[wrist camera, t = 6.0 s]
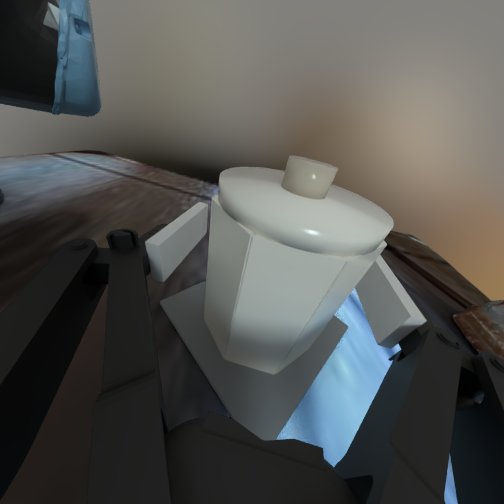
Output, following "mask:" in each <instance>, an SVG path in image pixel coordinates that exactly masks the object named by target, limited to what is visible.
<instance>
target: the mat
mask: <svg viewBox="0 0 504 504" xmlns="http://www.w3.org/2000/svg"><path fill="white" fill-rule="evenodd" d="M205 294H206V280H205V281H203V282H201V283H199V284H196V285H194V286H192V287H190V288H188V289H185V290H183V291H181V292H179V293H177V294H174V295H172V296H170V297H168V298H165V299H163V300H161V301H160V305H161V306H162V308H163V310H164V311H165V313H166V314H167V316H168V318H169V319H170V321H171V322H172V324H173V326H174V327H175V329H176V330H177V332H178V333H179V335H180V337H181V338H182V340H183V341H184V343H185V345H186V346H187V348H188V349H189V351H190V353H191V354H192V356H193V357H194V359H195V360H196V362H197V364H198V365H199V367H200V368H201V370H202V372H203V373H204V375H205V376H206V378H207V380H208V381H209V383H210V384H211V386H212V388H213V389H214V391H215V392H216V394H217V395H218V397H219V399H220V400H221V402H222V403H223V405H224V407H225V408H226V410H227V411H228V413H229V415H230V416H231V418H232V419H234V420H236V421H237V422H239V423H240V424H241V425H243V426H244V427H245V428H247V429H248V430H249V431H251V432H252V433H254V434H255V435H256V436H258V437H259V438H260V439H262V440H266V441H267V440H276V438H277V437H278V435H279V433H280V432H281V430H282V429H283V427H284V426H285V424H286V423H287V421H288V420H289V418H290V417H291V415H292V413H293V412H294V410H295V409H296V407H297V406H298V404H299V403H300V401H301V400H302V398H303V396H304V395H305V393H306V392H307V390H308V389H309V387H310V386H311V384H312V383H313V381H314V379H315V378H316V376H317V375H318V373H319V372H320V370H321V369H322V367H323V366H324V364H325V363H326V361H327V359H328V358H329V356H330V355H331V353H332V352H333V350H334V349H335V347H336V346H337V344H338V342H339V341H340V339H341V338H342V336H343V335H344V333H345V332H346V330H347V329H348V326H347V325H346V324H344V323H343V322H342V321H341V320H339V319H338V318H337V317H335V316H333V317H332V319H331V320H330V321H329V323H328V324H327V325H326V327H325V328H324V329H323V331H322V332H321V333H320V335H319V336H318V337H317V339H316V340H315V341H314V343H313V344H312V345H311V347H310V348H309V349H308V350H307V351H306V352H304V353H303V354H302V355H300V356H299V357H298V358H296V359H295V360H294V361H292V362H291V363H290V364H288V365H287V366H286V367H285V368H283V369H282V370H281V371H279V372H278V373H277V374H274V375H273V374H270V373H267V372H263V371H260V370H257V369H253V368H250V367H247V366H244V365H240V364H237V363H234V362H230V361H227V360H225V358H224V359H223V357H222V355H221V353H220V351H219V349H218V346H217V344H216V342H215V340H214V338H213V336H212V334H211V332H210V330H209V328H208V326H207V324H206V322H205V320H204V309H205Z"/></svg>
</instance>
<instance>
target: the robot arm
mask: <svg viewBox="0 0 504 504" xmlns="http://www.w3.org/2000/svg"><path fill="white" fill-rule="evenodd" d="M0 104H5V105H11V106H16V107H21V108H28V109H33V110H38V111H44V112H49V113H52V114H54V115H55V114H56V115H59V114H60V113H62V114H71V115H78V116H86V117H89V116H94V115H95V114H97V113H98V112H99V111H100V109H101V93H100V84H99V76H98V66H97V57H96V49H95V42H94V33H93V25H92V17H91V9H90V3H89V0H0ZM3 200H4V194H3V192H2V191H1V189H0V203H2V201H3ZM207 214H208V204H205V203H201V202H199V203H197V204H196V205H194V206H193V207H192V208H190V209H189V210H188V211H186V212H185V213H184V214H182V215H181V216H179V217H178V218H177V219H175V220H174V221H173V222H171V223H170V224H169V225H168V224H161V225H158V226H156V227H155V228H153V229H152V230H150V231H149V232H148V233H146V234H144V235H143V236H141V237H140V238H139V239H138V235H137V233H136V231H134V230H131V229H118V230H114V231H111V232H110V233H108V234H107V236H106V238H107V241H108V244H109V247H110V248H98V247H97V245H96V243H95V241H93V240H91V239H76V240H72V241H70V242H67V243H66V244H64V245H63V246H62V247H61V248H60V249H59V250H58V251H57V252H56V253H55V255H54V256H53V257H52V258H51V259H50V260H49V261H48V262H47V263H46V264H45V266H44V267H43V268H42V269H41V270H40V271H39V272H38V273H37V274H36V275H35V276H34V278H33V279H32V280H31V281H30V282H29V283H28V284H27V285H26V286H25V287H24V288H23V290H22V291H21V292H20V293H19V294H18V295H17V296H16V297H15V298H14V299H13V300H12V302H11V303H10V304H9V305H8V306H7V307H6V308H5V309H4V310H3V311H2V312H1V314H0V500H1V498H2V497H3V495H4V494H5V492H6V490H7V489H8V487H9V485H10V484H11V482H12V480H13V479H14V477H15V475H16V474H17V472H18V470H19V469H20V467H21V465H22V463H23V461H24V459H25V457H26V456H27V454H28V452H29V450H30V448H31V446H32V444H33V442H34V440H35V438H36V435H37V433H38V431H39V429H40V427H41V425H42V423H43V420H44V418H45V416H46V414H47V412H48V410H49V408H50V405H51V403H52V401H53V399H54V397H55V395H56V393H57V390H58V388H59V386H60V384H61V382H62V380H63V377H64V375H65V373H66V371H67V369H68V367H69V365H70V362H71V360H72V358H73V356H74V354H75V352H76V350H77V347H78V345H79V343H80V341H81V339H82V337H83V335H84V332H85V330H86V328H87V326H88V324H89V322H90V320H91V317H92V315H93V313H94V311H95V309H96V307H97V305H98V302H99V300H100V298H101V296H102V294H103V292H104V289H105V287H106V285H107V284H108V299H107V315H106V332H105V349H104V366H103V382H102V390H101V393H100V394H99V395H98V397H97V399H96V402H95V407H94V414H93V426H92V439H91V451H90V463H89V475H88V487H87V500H86V504H445V501H444V492H445V484H446V477H447V469H448V461H449V453H450V456H451V463H452V469H453V476H454V482H455V489H456V495H457V501H458V504H504V359H502V358H500V357H498V356H497V355H495V354H493V353H490V352H487V351H483V352H481V353H480V354H478V355H474V354H472V353H470V352H468V351H466V350H464V349H462V346H461V345H460V343H459V342H458V341H457V340H456V339H455V338H454V337H453V336H452V335H451V334H449V333H448V332H446V331H444V330H443V329H440V328H438V327H435V326H434V325H433V323H432V322H431V321H430V319H429V318H428V316H427V315H426V314H425V312H424V311H423V310H422V309H421V307H420V305H419V304H418V303H417V301H416V300H415V299H414V297H413V296H412V295H411V294H410V293H409V292H408V291H407V290H406V289H404V288H403V286H402V285H401V284H400V282H399V281H398V279H397V278H396V277H395V275H394V274H393V272H392V271H391V269H390V268H389V267H388V265H387V264H386V262H385V261H384V260H383V258H382V257H381V255H379V256H378V257H377V259H376V260H375V261H374V263H373V264H372V265H371V267H370V268H369V269H368V271H367V272H366V273H365V275H364V276H363V277H362V279H361V280H360V281H359V283H358V284H357V285H356V287H355V289H356V291H357V294H358V296H359V299H360V301H361V304H362V306H363V309H364V311H365V314H366V316H367V319H368V321H369V324H370V327H371V329H372V332H373V334H374V337H375V339H376V342H377V344H378V345H380V346H383V347H387V348H390V349H391V348H393V347H394V346H395V345H396V344H398V343H399V345H400V347H401V349H402V350H400V351H399V352H398V353H396V354H395V355H393V356H392V357H391V358H389V360H390V361H391V360H393V362H392V364H391V366H390V368H389V370H388V372H387V374H386V376H385V378H384V380H383V382H382V384H381V386H380V388H379V390H378V392H377V394H376V396H375V397H374V399H373V401H372V403H371V405H370V407H369V409H368V411H367V413H366V415H365V417H364V419H363V421H362V423H361V425H360V427H359V429H358V431H357V433H356V435H355V437H354V439H353V441H352V443H351V445H350V447H349V449H348V451H347V453H346V454H345V456H344V457H343V458H342V459H341V460H340V461H339V462H338V463H337V464H336V466H335V467H333V466H332V465H331V464H330V463H328V462H327V461H326V460H325V459H324V456H323V448H321V447H318V446H315V445H311V444H308V443H305V442H302V441H299V440H296V439H283V440H267V441H266V440H262V439H260V438H259V437H258V436H256V435H255V434H254V433H252V432H251V431H249V430H248V429H247V428H245V427H244V426H243V425H241V424H240V423H239V422H237V421H236V420H234V419H231V418H228V417H224V416H221V415H218V414H215V413H212V412H209V411H208V412H207V415H206V418H197V419H193V420H190V421H187V422H184V423H182V424H181V425H179V426H177V427H175V428H174V429H172V430H171V431H170V432H168V425H167V418H166V412H165V406H164V400H163V394H162V386H161V379H160V372H159V365H158V358H157V351H156V344H155V337H154V330H153V322H152V315H151V308H150V301H149V294H148V287H147V280H146V276H147V275H148V274H149V273H151V278H152V279H153V280H156V281H159V282H163V283H164V281H165V280H166V279H167V278H168V277H169V276H170V274H171V273H172V272H173V271H174V270H175V269H176V268H177V266H178V265H179V264H180V263H181V262H182V261H183V260H184V258H185V257H186V256H187V255H188V254H189V253H190V251H191V250H192V249H193V248H194V247H195V246H196V245H197V243H198V242H199V241H200V240H201V239H202V238H203V236H204V235H205V234H206V232H207ZM483 396H484V400H483V401H482V402H481V403H480V402H479V399H478V398H480V397H483Z"/></svg>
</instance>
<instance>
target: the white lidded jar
mask: <svg viewBox="0 0 504 504" xmlns="http://www.w3.org/2000/svg"><path fill="white" fill-rule="evenodd" d="M337 170H338V168H336V167H334V166H332V165H329V164H326V163H323V162H319V161H316V160H312V159H308V158H304V157H298V156H289V160H288V163H287V167H286V170H285V171H281V170H274V169H268V168H259V167H236V168H230V169H227V170H224V171H223V172H222V173H221V174H220V179H219V190H218V194H216V195H215V196H214V197H213V198H212V205H211V220H210V235H209V249H208V264H207V279H206V294H205V309H204V320H205V322H206V324H207V326H208V328H209V330H210V332H211V334H212V336H213V338H214V340H215V342H216V344H217V346H218V349H219V351H220V353H221V355H222V357H223V359H224V358H225V360H227V361H230V362H234V363H237V364H240V365H244V366H247V367H250V368H253V369H257V370H260V371H263V372H267V373H270V374H273V375H274V374H277V373H278V372H279V371H281V370H282V369H283V368H285V367H286V366H287V365H288V364H290V363H291V362H292V361H294V360H295V359H296V358H298V357H299V356H300V355H302V354H303V353H304V352H306V351H307V350H308V349H309V348H310V347H311V345H312V344H313V343H314V341H315V340H316V339H317V337H318V336H319V335H320V333H321V332H322V331H323V329H324V328H325V327H326V325H327V324H328V323H329V321H330V320H331V319H332V317H333V316H334V315H335V313H336V312H337V311H338V309H339V308H340V307H341V305H342V304H343V303H344V301H345V300H346V299H347V297H348V296H349V295H350V293H351V292H352V291H353V289H354V288H355V287H356V285H357V284H358V283H359V281H360V280H361V279H362V277H363V276H364V275H365V273H366V272H367V271H368V269H369V268H370V267H371V265H372V264H373V263H374V261H375V260H376V259H377V257H378V256H379V255H380V253H381V252H382V251H383V249H384V248H385V247H386V245H387V244H386V242H385V241H384V239H385V237H386V236H387V235H388V233H389V232H390V230H391V229H392V228H393V224H394V223H393V220H392V218H391V217H390V215H388V214H387V213H386V212H385V211H384V210H383V209H381V208H380V207H379V206H377V205H376V204H374V203H372V202H371V201H369V200H367V199H365V198H363V197H361V196H359V195H357V194H355V193H352V192H350V191H348V190H346V189H343V188H341V187H338V186H335V185H332V181H333V179H334V177H335V174H336V172H337Z"/></svg>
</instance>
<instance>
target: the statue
mask: <svg viewBox="0 0 504 504" xmlns="http://www.w3.org/2000/svg"><path fill="white" fill-rule="evenodd" d="M452 317H453V319H454V321H455V323H456V324H457V325H458V326H459V328H460V329H461V331H462V332H463V334H464V335H465V337H466V338H467V340H468V341H469V342H470V343H471V345H472V346H473V347H474V348H475V350H476V351H477V352H478V354H480V353H481V352H483V351H487V352H490V353H493V354H495V355H497V356H498V357H500V358H502V359H504V300H500V301H491V302H489V303H487V304H485V305H483V306H470V307H468V308H467V309H466V310H465V311H460V312H457V313H456V314H454V315H453V316H452Z"/></svg>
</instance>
